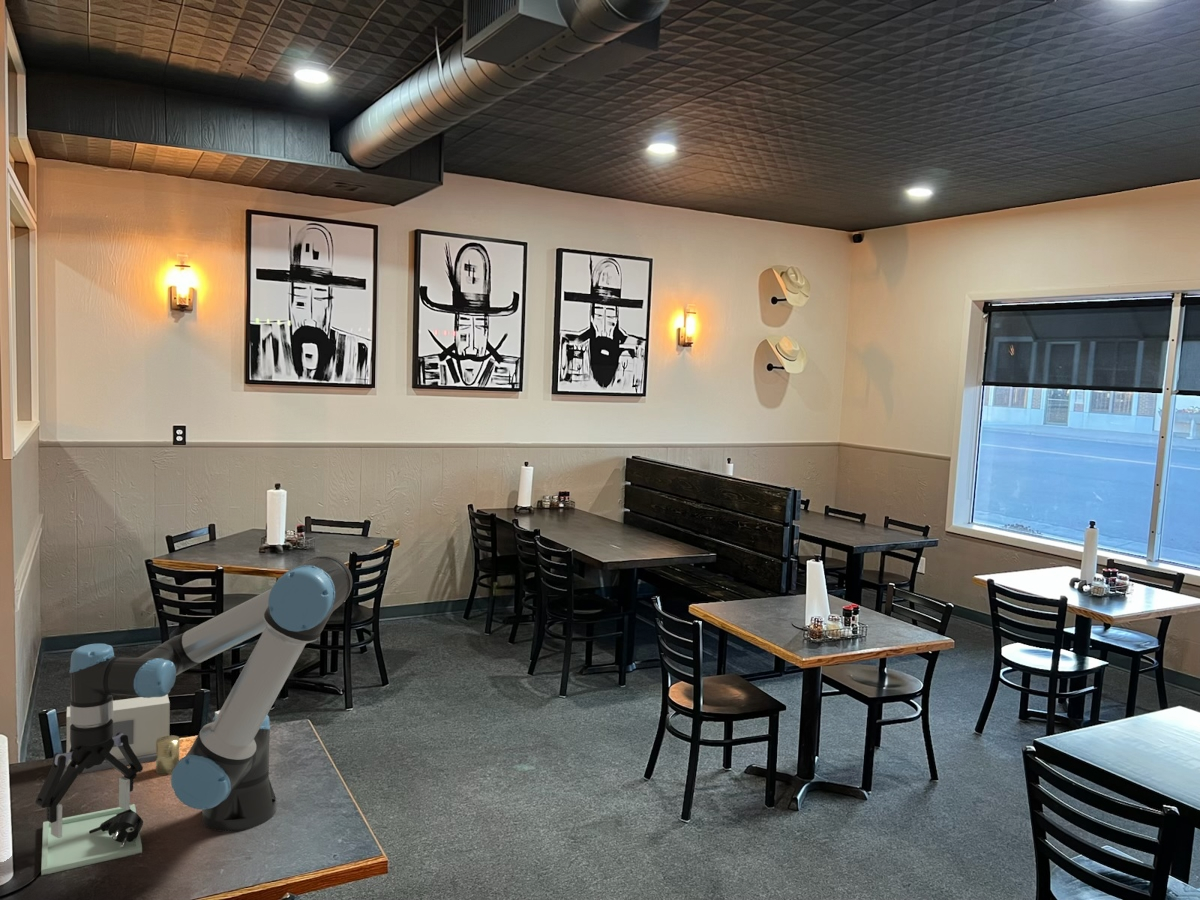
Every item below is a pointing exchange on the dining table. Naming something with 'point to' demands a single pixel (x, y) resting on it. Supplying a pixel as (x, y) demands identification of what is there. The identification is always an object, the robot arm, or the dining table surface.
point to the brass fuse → (167, 754)
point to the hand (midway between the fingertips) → (91, 821)
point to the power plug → (122, 826)
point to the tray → (83, 842)
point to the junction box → (134, 728)
